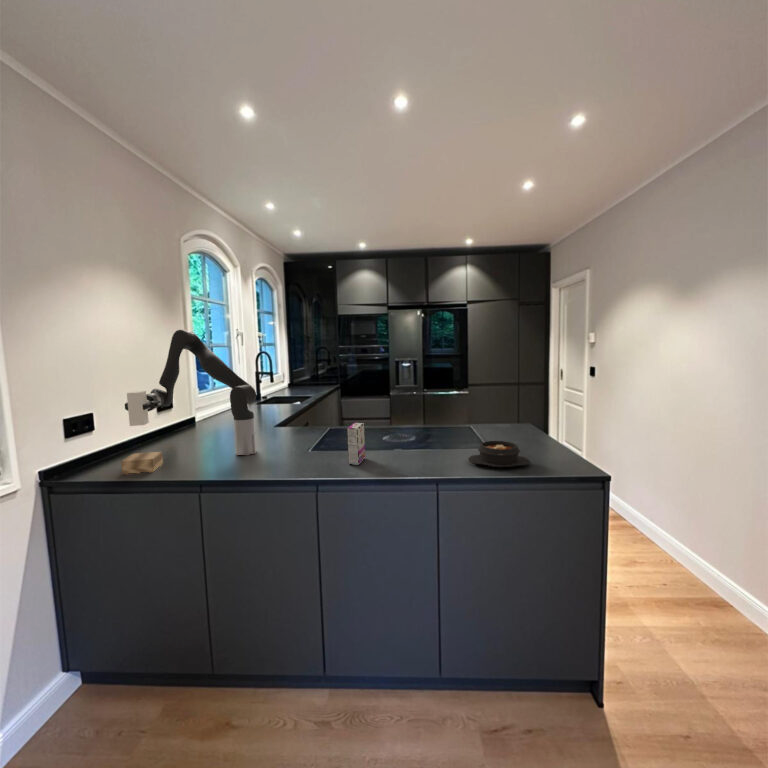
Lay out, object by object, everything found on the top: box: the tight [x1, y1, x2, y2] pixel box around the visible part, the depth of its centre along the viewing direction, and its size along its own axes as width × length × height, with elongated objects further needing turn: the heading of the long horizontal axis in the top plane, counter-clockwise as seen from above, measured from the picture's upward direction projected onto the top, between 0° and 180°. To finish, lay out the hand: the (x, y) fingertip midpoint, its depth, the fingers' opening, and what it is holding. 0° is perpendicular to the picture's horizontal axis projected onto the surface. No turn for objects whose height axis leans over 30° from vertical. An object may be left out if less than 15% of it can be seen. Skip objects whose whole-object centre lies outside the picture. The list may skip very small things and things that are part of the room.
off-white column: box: [126, 390, 150, 427], centre depth 171 cm, size 6×6×14 cm
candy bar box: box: [346, 422, 366, 464], centre depth 176 cm, size 11×5×16 cm, turn 168°
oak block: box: [120, 451, 164, 475], centre depth 174 cm, size 12×12×6 cm
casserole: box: [467, 440, 531, 468], centre depth 168 cm, size 25×19×8 cm
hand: (135, 407), depth 169 cm, fingers closed on off-white column, 5 cm apart
